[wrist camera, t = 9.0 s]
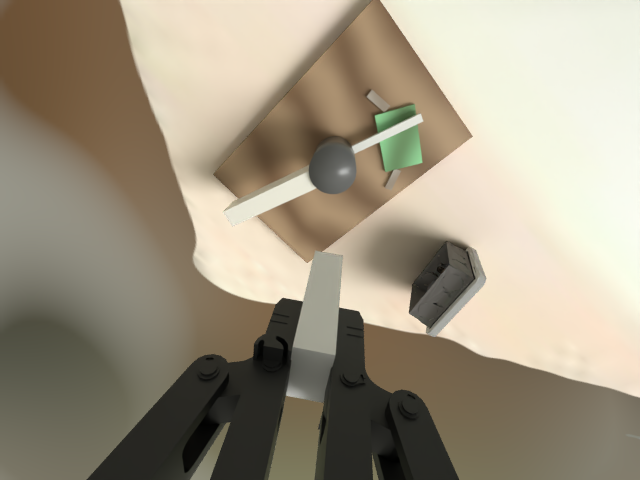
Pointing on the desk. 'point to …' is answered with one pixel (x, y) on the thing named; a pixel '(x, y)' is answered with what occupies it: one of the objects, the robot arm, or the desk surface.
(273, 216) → the board
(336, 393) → the robot arm
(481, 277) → the electrical switch
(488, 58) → the desk surface
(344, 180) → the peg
